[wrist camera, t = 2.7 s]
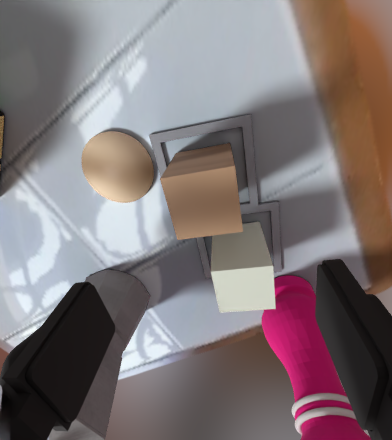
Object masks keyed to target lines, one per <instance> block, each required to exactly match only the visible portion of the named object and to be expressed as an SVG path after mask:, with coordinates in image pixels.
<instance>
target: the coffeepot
mask: <svg viewBox="0 0 392 440" xmlns="http://www.w3.org/2000/svg"><path fill="white" fill-rule="evenodd" d="M85 282H90V283H91V284H92V285H94V286H95V288H96V290H97V292H98V293H99V295H100V297H101V299H102V301H103V303H104V305H105V307H106V309H107V311H108V312H109V314H110V316H111V318H112V320H113V322H114V324H115V333H114V335H113V338H112V340H111V342H110V344H109V347H108V349H107V351H106V353H105V356H104V358H103V360H102V362H101V365H100V367H99V369H98V371H97V374H96V376H95V378H94V380H93V383H92V385H91V387H90V389H89V392H88V394H87V396H86V398H85V401H84V403H83V405H82V407H81V410H80V412H79V414H78V416H77V418H76V419H75V420H74V421H72V423H71V426H70V428H69V430H68V431H55V430H54V429H52V431H51V433H50V435H49V440H105V437H106V431H107V427H108V423H109V417H110V413H111V408H112V403H113V399H114V394H115V389H116V384H117V380H118V375H119V371H120V366H121V361H122V357H121V356H122V353H123V351H124V350H125V348H126V347H127V345H128V343H129V341H130V339H131V337H132V335H133V334H134V332H135V330H136V328H137V326H138V324H139V322H140V321H141V319H142V317H143V315H144V313H145V310H146V307H147V304H148V301H149V298H150V295H149V293H148V291H147V290H146V288H145V287H144V285H143V284H142V283H141V282H140V281H139V280H138V279H136V278H135V277H133V276H131V275H130V274H127V273H124V272H121V271H117V270H108V269H107V270H103V271H99V272H97V273H95V274H93V275H92V276H89V277H86V280H85ZM39 329H40V328H39ZM39 329H37V330H36V331H35V332H34V333H33V334H31V335H30V336H29V337H28V338H26V339H25V340H24V341H23V342H21V343H20V344H19V345H17V346H16V347H15V348H14V349H13V350H12V351H11V352H10V354H9V355H8V356H7V358H6V360H5V362H4V364H3V367H2V371H1V376H0V385H1V386H2V387H3V385H4V384H5V381H4V380H3V379H2V377H3V376H4V374H5V373H6V372H7V370H8V369H9V368H10V367H11V365H12V364H13V363H14V361H15V360H16V359H17V357H18V356H19V355H20V353H21V352H22V351H23V350H24V348H25V347H26V346H27V344H28V343H29V342H30V340H31V339H32V338H33V337H34V335H35V334H36V333H37V331H38V330H39Z"/></svg>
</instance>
